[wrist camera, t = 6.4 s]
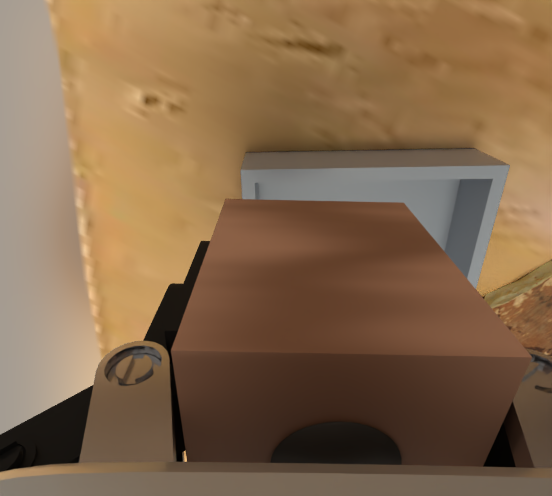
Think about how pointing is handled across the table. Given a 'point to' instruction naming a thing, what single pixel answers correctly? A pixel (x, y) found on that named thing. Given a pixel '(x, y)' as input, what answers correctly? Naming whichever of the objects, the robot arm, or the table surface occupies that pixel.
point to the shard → (527, 308)
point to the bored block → (339, 342)
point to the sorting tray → (395, 189)
